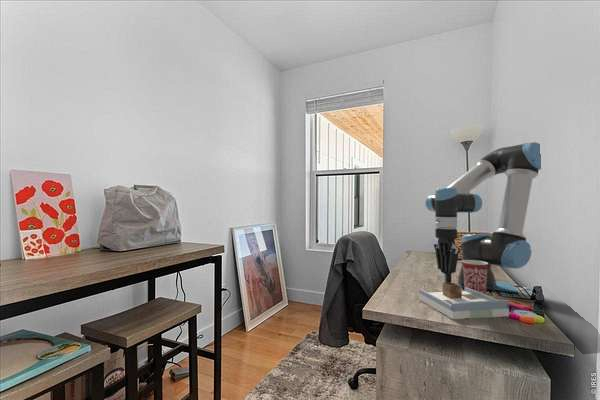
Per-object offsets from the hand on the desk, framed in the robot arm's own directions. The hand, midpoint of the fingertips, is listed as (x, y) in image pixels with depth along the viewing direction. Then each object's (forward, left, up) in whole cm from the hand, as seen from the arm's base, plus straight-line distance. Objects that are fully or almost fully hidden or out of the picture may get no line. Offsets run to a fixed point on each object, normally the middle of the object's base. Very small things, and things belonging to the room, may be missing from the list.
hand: (446, 289), depth 112 cm
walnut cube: (0, +3, -2) cm, 3 cm away
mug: (-16, -6, -4) cm, 18 cm away
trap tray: (0, +7, -4) cm, 8 cm away
